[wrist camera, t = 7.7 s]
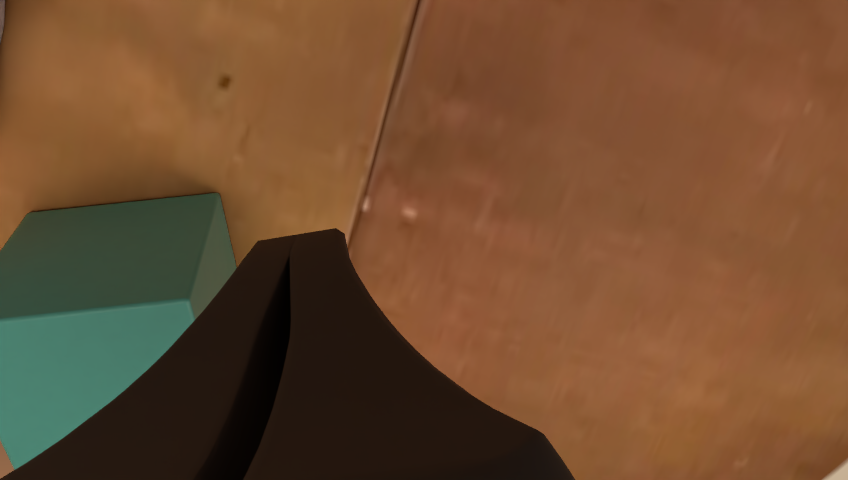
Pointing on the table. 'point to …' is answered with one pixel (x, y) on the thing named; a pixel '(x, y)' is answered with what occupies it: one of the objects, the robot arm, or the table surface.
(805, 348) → the table surface
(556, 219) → the table surface
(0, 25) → the stone block
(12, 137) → the table surface
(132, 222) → the teal block
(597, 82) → the table surface
